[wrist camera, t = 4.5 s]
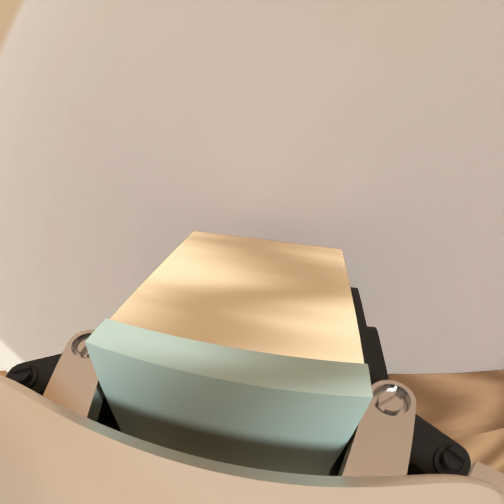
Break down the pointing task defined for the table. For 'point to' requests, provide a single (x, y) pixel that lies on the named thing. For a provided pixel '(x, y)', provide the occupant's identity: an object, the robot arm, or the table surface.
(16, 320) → the table surface
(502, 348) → the table surface
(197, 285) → the maple block
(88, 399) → the robot arm
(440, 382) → the walnut plinth
